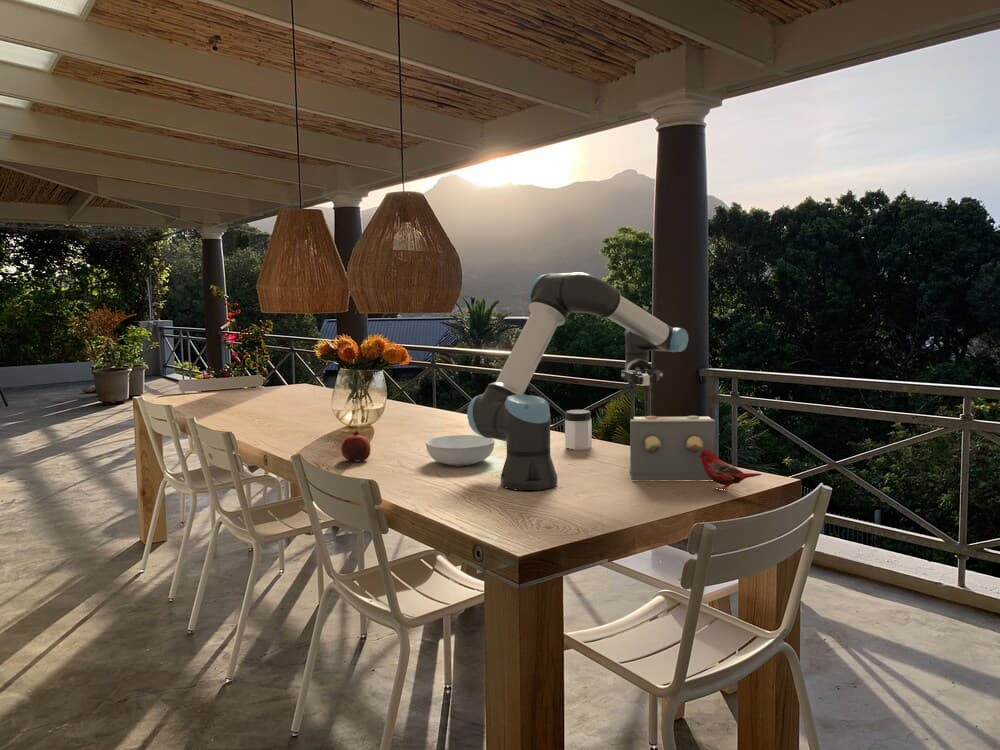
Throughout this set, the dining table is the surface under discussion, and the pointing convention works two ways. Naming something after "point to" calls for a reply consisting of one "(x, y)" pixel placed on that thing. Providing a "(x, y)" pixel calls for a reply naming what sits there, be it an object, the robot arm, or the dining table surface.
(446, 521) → the dining table surface
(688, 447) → the knob
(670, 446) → the console
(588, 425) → the jar
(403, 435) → the dining table surface
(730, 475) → the decorative bird figurine
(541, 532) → the dining table surface
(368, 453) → the fruit
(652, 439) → the brass knob
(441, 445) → the serving bowl
